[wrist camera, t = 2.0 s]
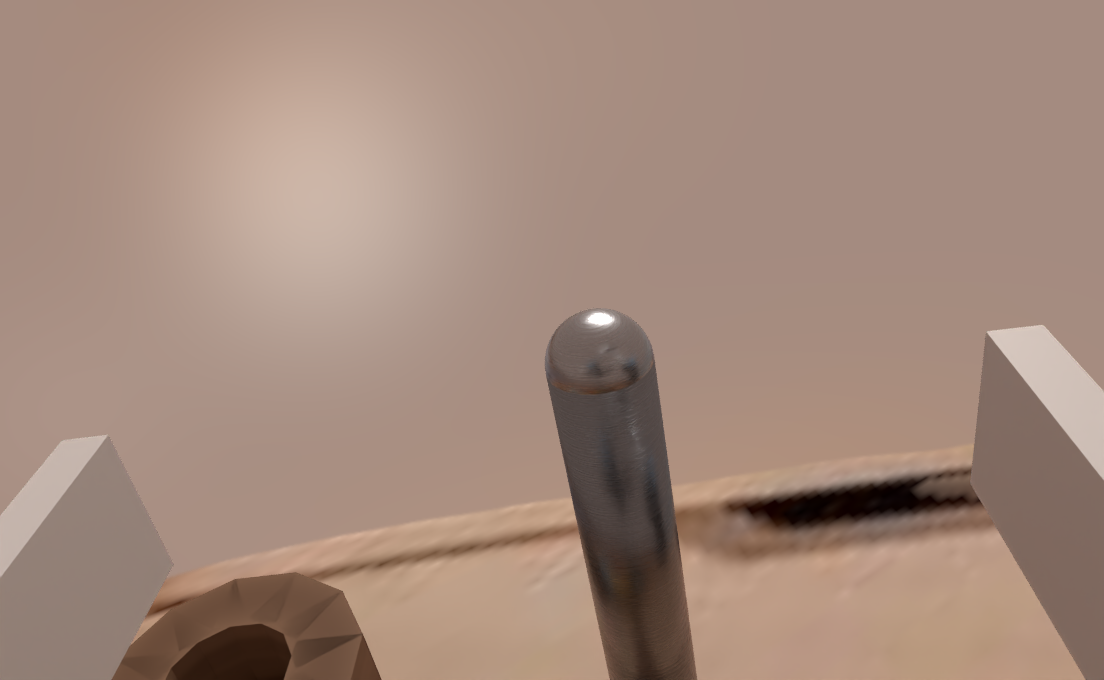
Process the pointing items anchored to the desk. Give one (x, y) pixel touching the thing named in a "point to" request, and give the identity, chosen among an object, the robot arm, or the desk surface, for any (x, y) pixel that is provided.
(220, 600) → the bead
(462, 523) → the desk surface
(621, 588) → the round-tipped metal rod
